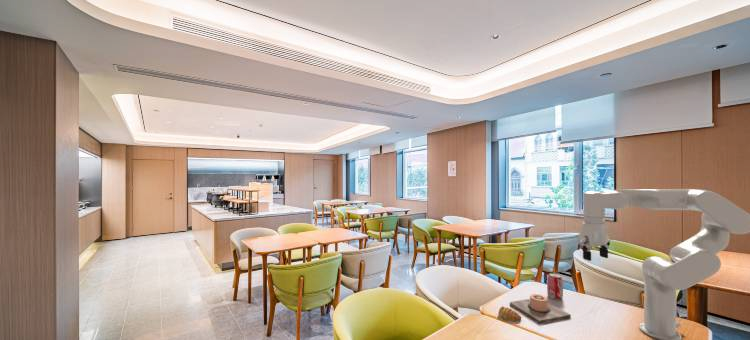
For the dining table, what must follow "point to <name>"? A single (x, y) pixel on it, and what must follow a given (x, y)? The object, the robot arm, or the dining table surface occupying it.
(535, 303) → the ring
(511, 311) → the brown ridged oval piece
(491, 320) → the dining table surface
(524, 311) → the post stand
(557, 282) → the soda can
